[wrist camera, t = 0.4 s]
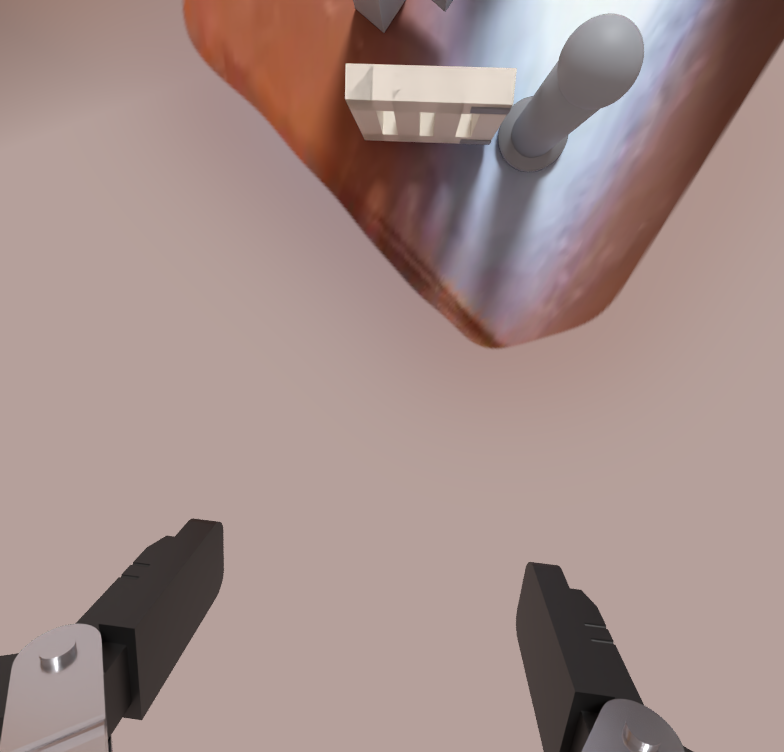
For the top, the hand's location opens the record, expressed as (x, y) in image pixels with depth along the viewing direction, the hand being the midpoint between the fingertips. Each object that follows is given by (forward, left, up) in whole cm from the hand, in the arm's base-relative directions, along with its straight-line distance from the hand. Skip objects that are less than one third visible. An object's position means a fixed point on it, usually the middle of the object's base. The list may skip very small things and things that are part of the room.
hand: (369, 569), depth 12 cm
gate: (-14, -9, -24) cm, 29 cm away
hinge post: (-18, -3, -25) cm, 31 cm away
